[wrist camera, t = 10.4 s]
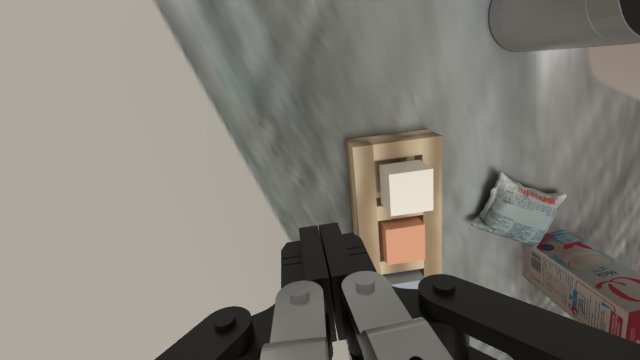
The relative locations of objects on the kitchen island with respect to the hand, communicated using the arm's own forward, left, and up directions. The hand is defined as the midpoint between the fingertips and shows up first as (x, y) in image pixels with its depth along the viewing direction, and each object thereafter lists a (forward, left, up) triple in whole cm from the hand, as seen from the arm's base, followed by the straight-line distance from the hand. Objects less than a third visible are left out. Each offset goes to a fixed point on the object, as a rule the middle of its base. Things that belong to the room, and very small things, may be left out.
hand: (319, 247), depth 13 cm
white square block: (-12, +8, -27) cm, 31 cm away
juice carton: (-36, +25, -32) cm, 54 cm away
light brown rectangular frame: (-12, +16, -32) cm, 38 cm away
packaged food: (-30, +16, -32) cm, 47 cm away
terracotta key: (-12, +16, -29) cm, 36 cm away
